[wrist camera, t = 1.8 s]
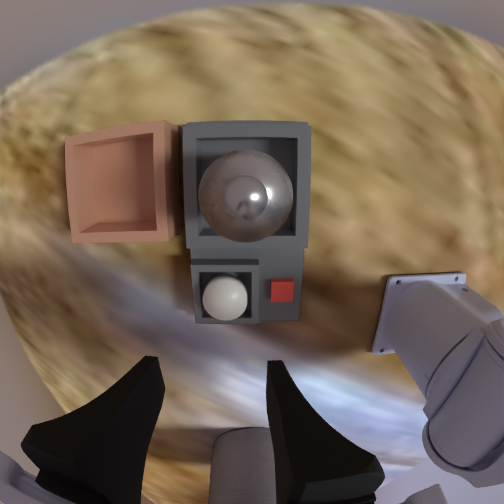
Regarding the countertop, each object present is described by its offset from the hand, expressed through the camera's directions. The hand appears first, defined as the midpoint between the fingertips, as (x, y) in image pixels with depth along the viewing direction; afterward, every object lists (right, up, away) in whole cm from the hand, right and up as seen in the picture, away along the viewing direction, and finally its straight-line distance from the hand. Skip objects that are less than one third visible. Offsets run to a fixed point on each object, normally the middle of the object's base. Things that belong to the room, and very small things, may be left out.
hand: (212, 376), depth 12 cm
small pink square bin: (-7, +11, +7) cm, 15 cm away
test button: (0, +3, +8) cm, 9 cm away
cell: (+1, +10, +7) cm, 12 cm away
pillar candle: (+2, -18, +17) cm, 25 cm away
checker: (+1, +8, +9) cm, 11 cm away
